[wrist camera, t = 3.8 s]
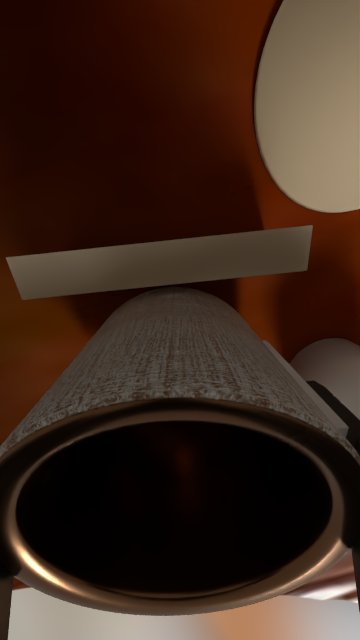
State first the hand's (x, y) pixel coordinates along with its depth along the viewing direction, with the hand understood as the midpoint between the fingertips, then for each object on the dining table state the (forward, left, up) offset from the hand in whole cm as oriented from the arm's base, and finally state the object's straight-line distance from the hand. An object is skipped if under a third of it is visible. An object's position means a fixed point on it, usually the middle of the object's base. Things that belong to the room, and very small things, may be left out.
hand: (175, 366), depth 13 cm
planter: (0, 0, -1) cm, 1 cm away
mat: (-15, +12, -3) cm, 19 cm away
